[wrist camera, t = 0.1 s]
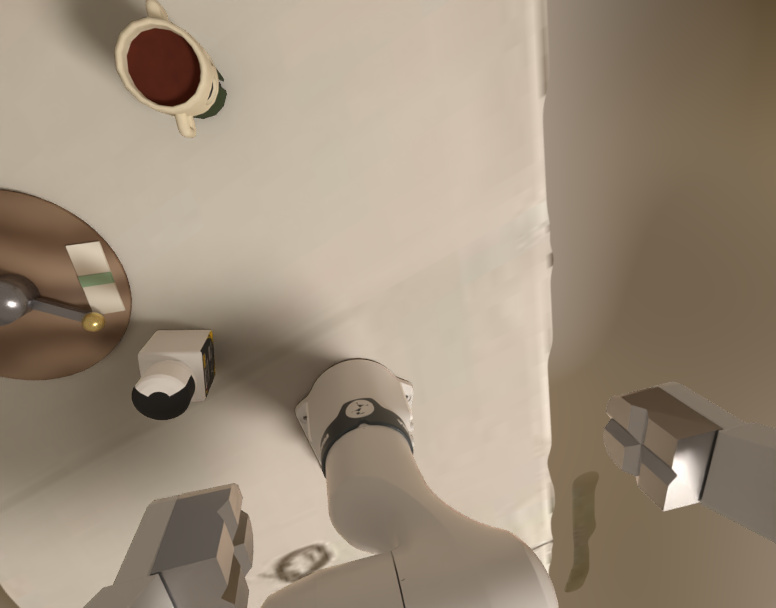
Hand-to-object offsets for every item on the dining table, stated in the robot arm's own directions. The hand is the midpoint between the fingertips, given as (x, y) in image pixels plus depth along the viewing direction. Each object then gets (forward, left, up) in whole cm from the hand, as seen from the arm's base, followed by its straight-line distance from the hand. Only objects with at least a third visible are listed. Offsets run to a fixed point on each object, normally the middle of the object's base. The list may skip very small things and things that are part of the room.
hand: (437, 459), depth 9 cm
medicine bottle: (-18, +22, -48) cm, 56 cm away
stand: (-6, +38, -48) cm, 61 cm away
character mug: (+14, +12, -48) cm, 52 cm away
